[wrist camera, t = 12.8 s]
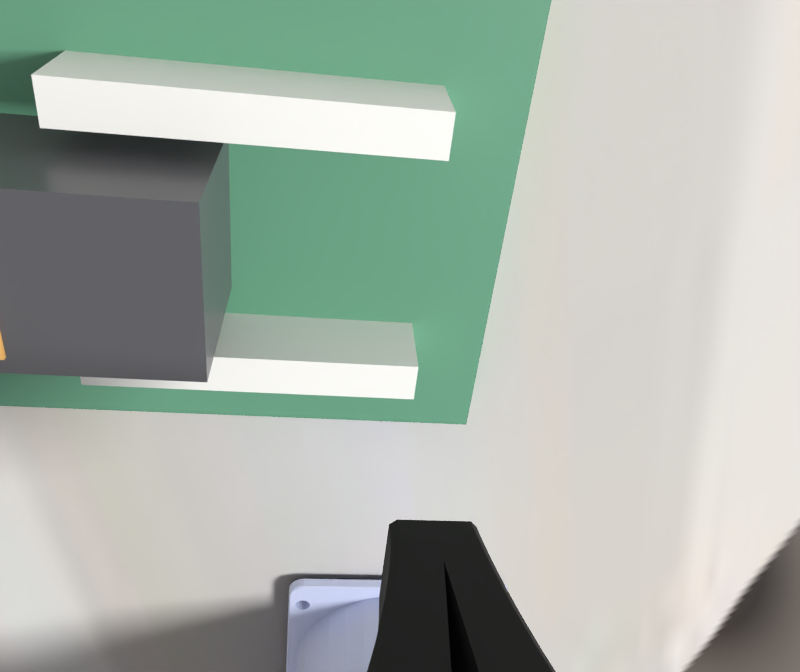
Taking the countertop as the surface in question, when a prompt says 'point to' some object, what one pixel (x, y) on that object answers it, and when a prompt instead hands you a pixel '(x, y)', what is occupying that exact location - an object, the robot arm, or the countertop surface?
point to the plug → (111, 253)
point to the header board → (308, 183)
